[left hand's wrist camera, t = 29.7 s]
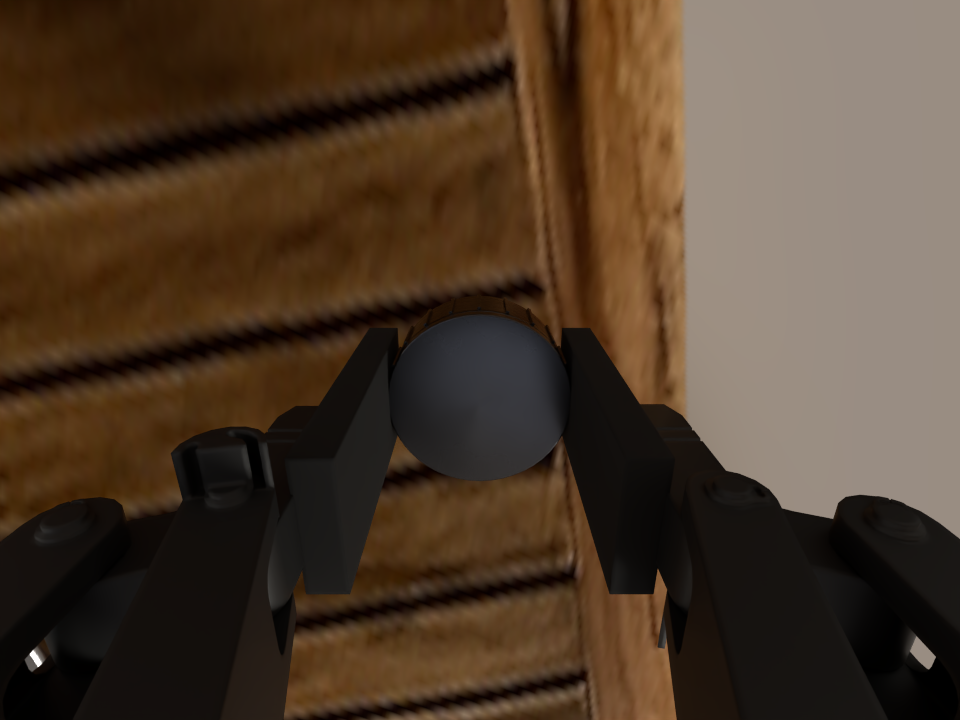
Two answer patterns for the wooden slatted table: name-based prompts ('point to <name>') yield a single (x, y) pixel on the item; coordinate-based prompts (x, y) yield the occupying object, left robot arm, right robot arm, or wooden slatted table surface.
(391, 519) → the wooden slatted table surface
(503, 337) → the cap
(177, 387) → the wooden slatted table surface
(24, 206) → the wooden slatted table surface
